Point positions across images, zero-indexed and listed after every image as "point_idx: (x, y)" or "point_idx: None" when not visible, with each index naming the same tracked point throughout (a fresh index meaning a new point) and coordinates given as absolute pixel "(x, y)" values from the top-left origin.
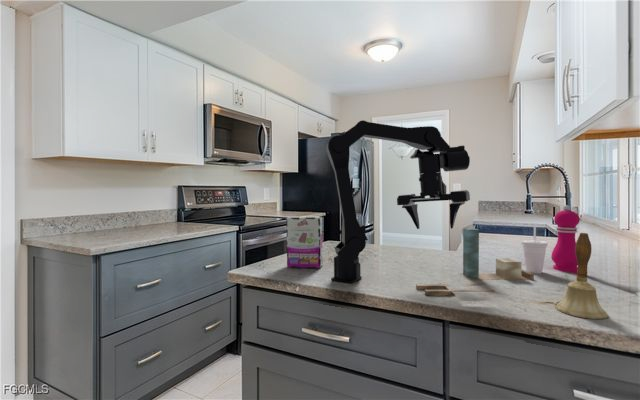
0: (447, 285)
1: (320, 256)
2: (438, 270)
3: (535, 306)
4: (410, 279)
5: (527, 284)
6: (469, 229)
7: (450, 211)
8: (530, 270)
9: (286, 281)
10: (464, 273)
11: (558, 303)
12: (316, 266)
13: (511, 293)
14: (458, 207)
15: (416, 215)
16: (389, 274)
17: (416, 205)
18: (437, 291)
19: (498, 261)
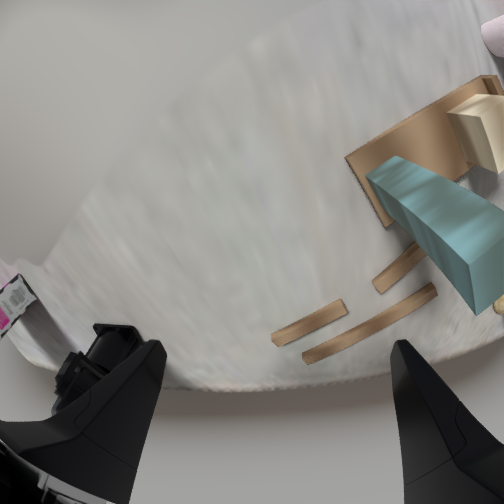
0: (342, 313)
1: (22, 313)
2: (245, 98)
3: None
4: (222, 275)
5: None
6: (487, 298)
7: (408, 481)
8: (501, 52)
9: None
10: (373, 189)
11: None
12: (32, 303)
13: None
14: (497, 455)
15: (123, 429)
16: (146, 259)
17: (51, 466)
18: (328, 355)
19: (482, 135)
